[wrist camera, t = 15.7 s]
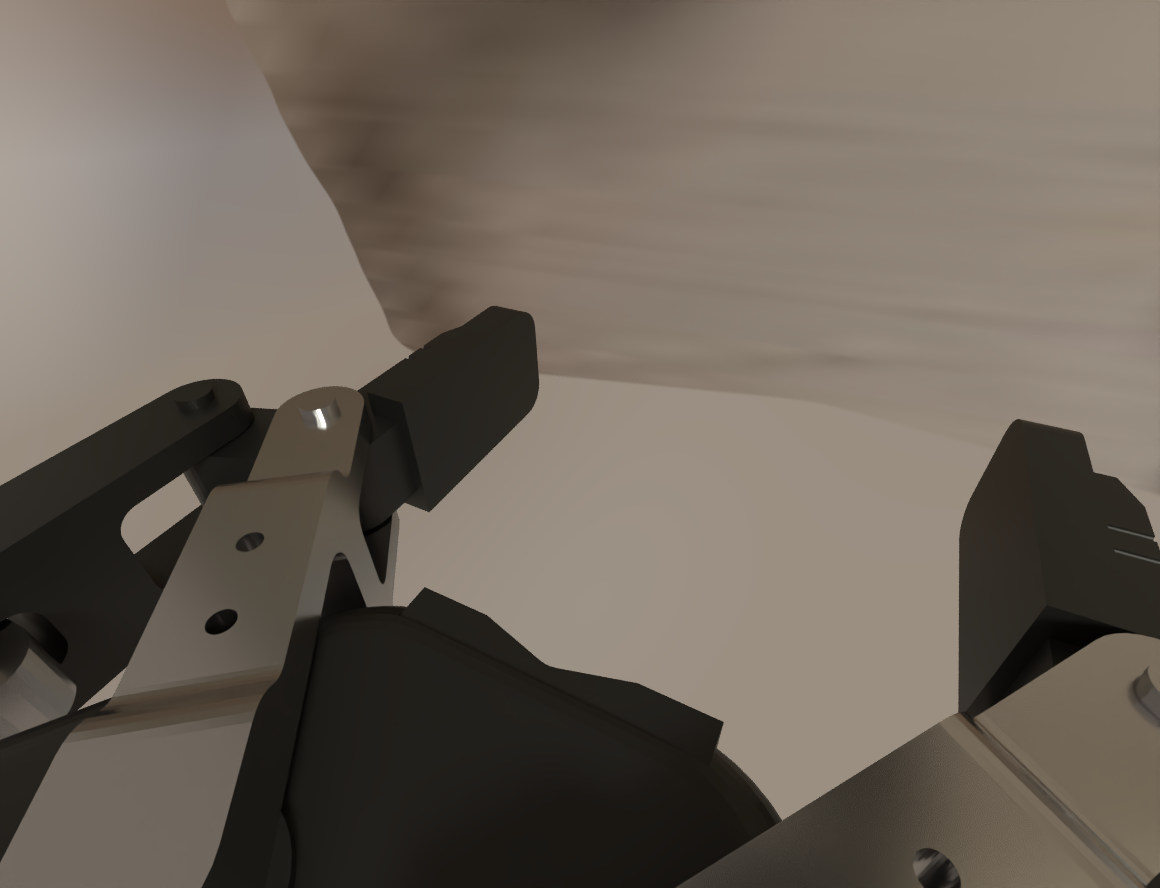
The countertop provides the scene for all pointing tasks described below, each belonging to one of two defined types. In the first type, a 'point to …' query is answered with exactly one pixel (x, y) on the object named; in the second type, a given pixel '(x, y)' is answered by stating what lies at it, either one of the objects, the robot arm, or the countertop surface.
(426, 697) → the robot arm
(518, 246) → the countertop surface
